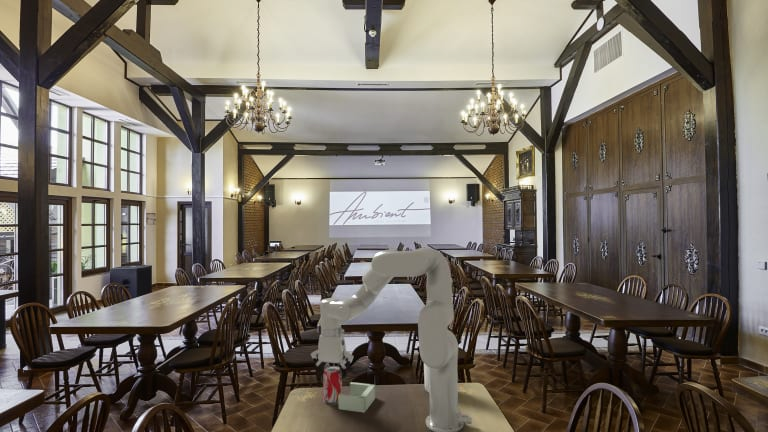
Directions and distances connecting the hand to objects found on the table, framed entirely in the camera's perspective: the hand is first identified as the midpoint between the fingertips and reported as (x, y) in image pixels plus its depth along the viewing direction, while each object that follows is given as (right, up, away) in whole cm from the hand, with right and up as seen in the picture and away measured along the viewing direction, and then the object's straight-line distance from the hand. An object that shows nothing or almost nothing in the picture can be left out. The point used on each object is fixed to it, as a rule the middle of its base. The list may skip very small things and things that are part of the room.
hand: (332, 376), depth 156 cm
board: (+4, -10, -1) cm, 11 cm away
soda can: (0, -9, 0) cm, 9 cm away
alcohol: (+40, -10, +10) cm, 43 cm away
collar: (+10, -9, -3) cm, 13 cm away
